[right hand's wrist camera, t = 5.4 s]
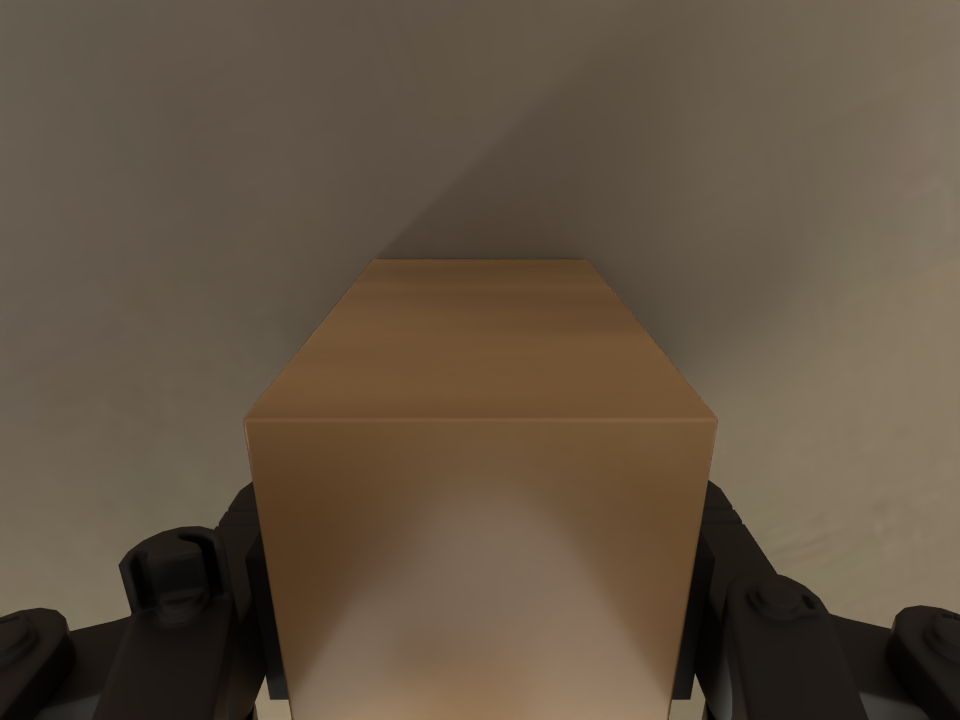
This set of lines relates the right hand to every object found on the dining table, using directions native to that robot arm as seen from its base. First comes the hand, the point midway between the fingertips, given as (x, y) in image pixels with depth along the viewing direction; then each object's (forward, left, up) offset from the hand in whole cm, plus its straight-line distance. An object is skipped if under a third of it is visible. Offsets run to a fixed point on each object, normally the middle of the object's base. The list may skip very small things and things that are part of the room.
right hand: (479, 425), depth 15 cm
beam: (-22, -5, -1) cm, 23 cm away
